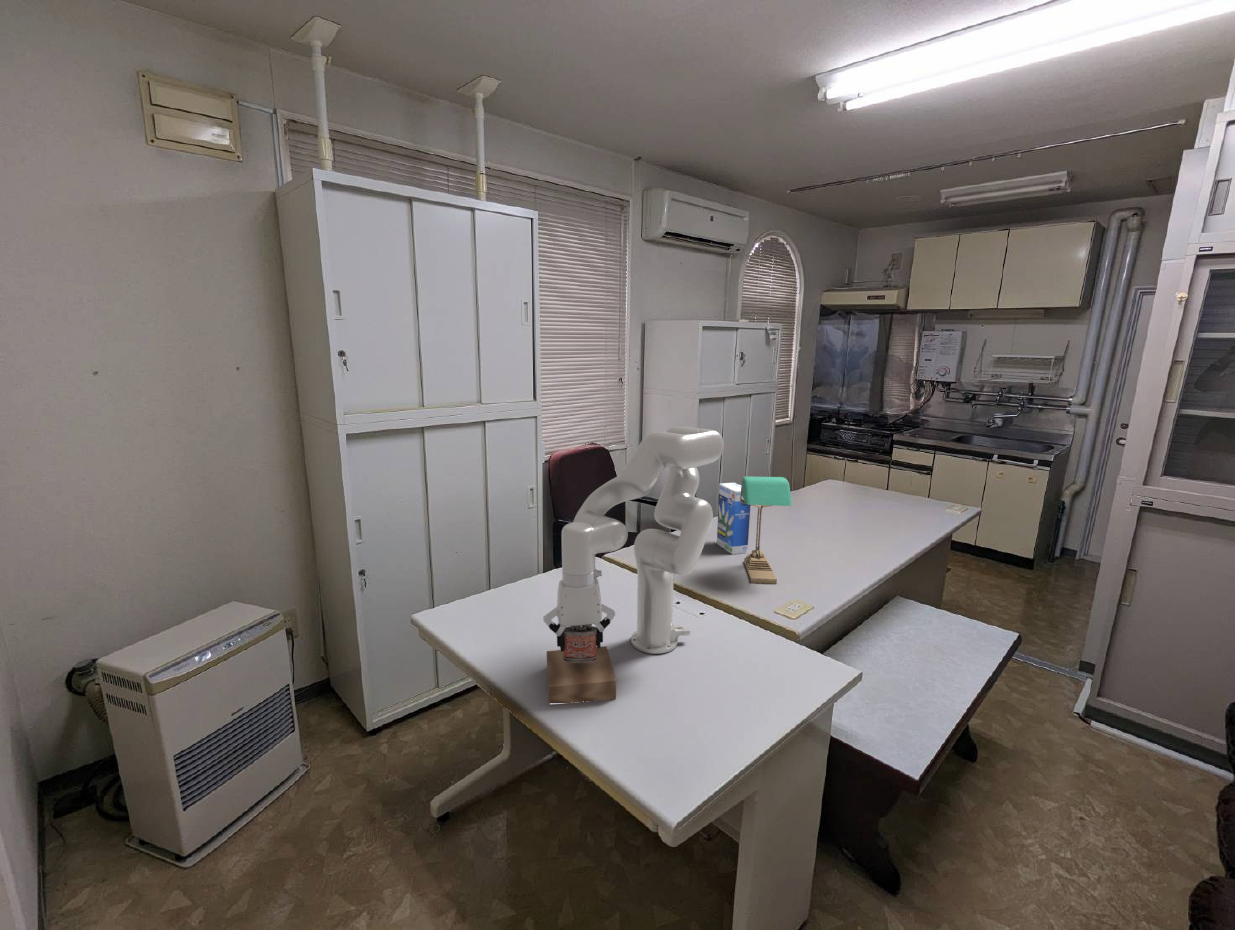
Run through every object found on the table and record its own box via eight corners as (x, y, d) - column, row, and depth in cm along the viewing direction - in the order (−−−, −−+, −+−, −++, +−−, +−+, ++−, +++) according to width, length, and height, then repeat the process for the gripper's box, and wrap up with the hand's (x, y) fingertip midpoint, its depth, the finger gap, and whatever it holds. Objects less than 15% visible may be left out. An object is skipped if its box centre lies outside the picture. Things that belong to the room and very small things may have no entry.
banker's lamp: (776, 563, 204) (782, 472, 197) (788, 586, 183) (795, 485, 176) (734, 561, 205) (738, 471, 198) (741, 584, 185) (746, 484, 178)
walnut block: (606, 664, 137) (606, 646, 136) (616, 700, 123) (616, 680, 122) (547, 669, 135) (546, 651, 134) (549, 707, 120) (549, 686, 119)
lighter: (597, 654, 129) (597, 615, 127) (597, 662, 126) (596, 622, 124) (563, 654, 129) (562, 616, 127) (562, 662, 126) (561, 623, 124)
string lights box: (716, 543, 224) (718, 483, 219) (732, 542, 227) (735, 482, 222) (731, 554, 212) (734, 490, 207) (749, 552, 214) (752, 489, 209)
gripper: (613, 567, 129) (613, 635, 132) (539, 573, 126) (542, 642, 129) (619, 580, 121) (619, 651, 125) (541, 586, 118) (543, 659, 122)
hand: (580, 646), depth 127 cm, fingers closed on lighter, 8 cm apart
